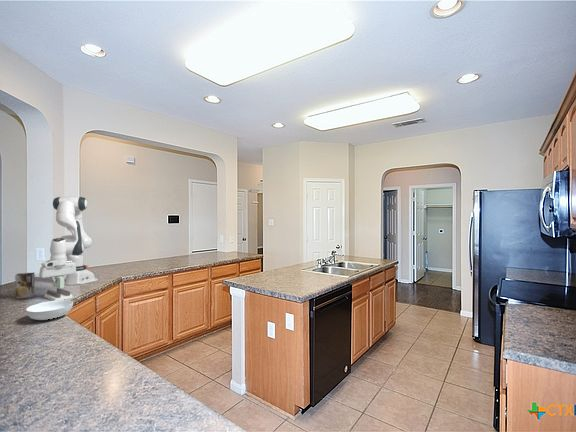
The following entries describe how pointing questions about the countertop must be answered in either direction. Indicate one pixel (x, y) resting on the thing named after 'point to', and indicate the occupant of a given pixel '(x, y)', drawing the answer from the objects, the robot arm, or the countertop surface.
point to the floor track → (58, 294)
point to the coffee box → (24, 285)
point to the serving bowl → (49, 309)
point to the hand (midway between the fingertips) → (58, 282)
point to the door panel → (59, 282)
